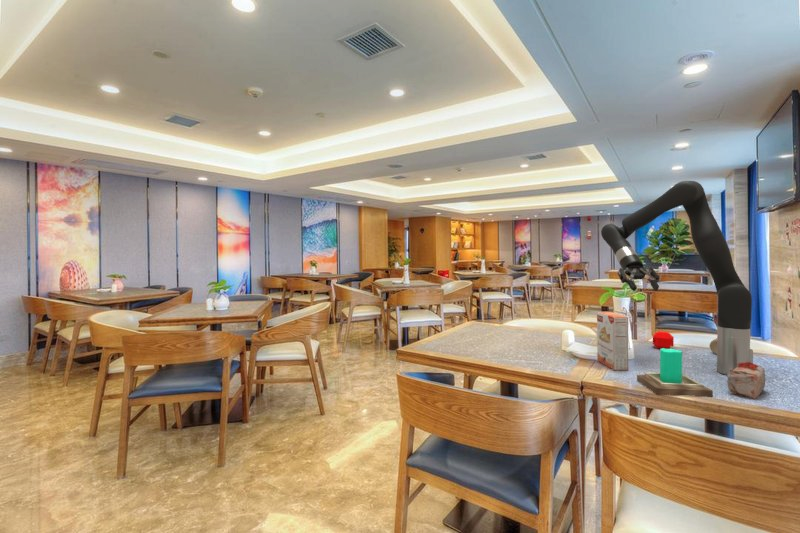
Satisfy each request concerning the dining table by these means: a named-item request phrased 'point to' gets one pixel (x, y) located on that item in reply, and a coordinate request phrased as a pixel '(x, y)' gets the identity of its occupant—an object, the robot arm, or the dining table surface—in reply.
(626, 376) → the dining table surface
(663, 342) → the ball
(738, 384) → the food item
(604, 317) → the cracker box
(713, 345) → the beige rounded cylinder
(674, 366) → the candle
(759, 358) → the dining table surface
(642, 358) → the dining table surface
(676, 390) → the walnut base board
